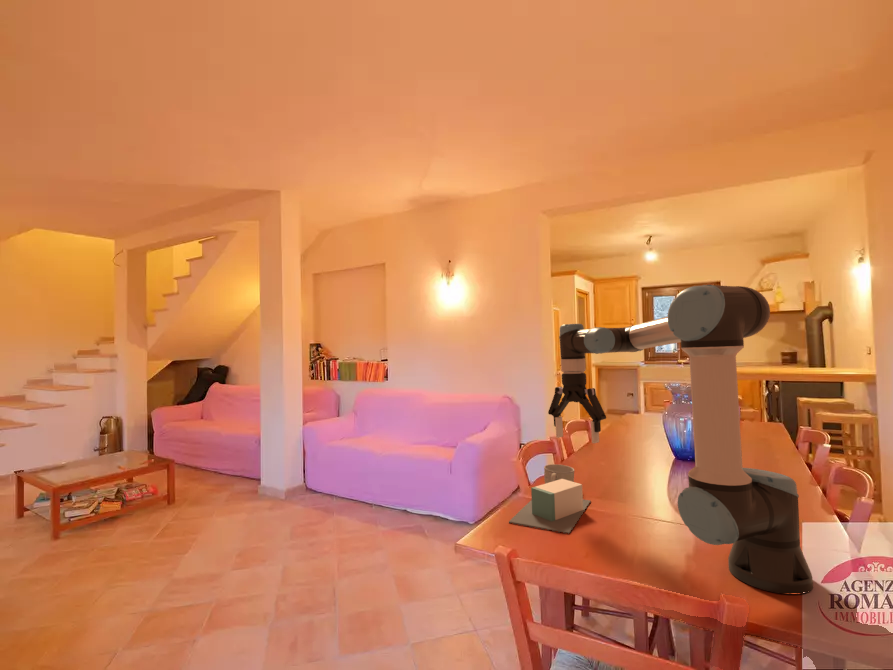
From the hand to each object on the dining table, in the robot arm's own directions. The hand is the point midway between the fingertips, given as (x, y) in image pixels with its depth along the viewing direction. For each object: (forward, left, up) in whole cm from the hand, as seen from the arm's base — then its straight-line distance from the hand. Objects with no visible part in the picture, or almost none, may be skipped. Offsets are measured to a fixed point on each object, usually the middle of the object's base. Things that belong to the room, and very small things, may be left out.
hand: (577, 439), depth 140 cm
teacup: (+17, +12, -23) cm, 31 cm away
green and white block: (+3, +3, -18) cm, 18 cm away
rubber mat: (-4, +8, -23) cm, 24 cm away
